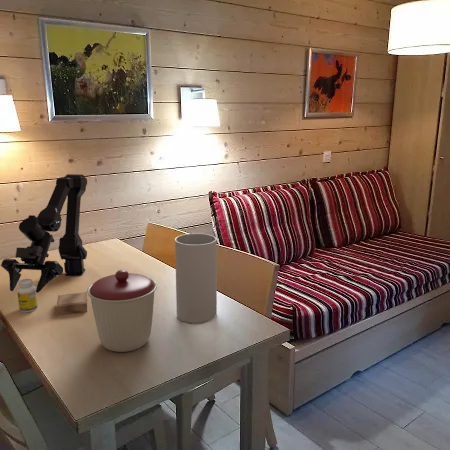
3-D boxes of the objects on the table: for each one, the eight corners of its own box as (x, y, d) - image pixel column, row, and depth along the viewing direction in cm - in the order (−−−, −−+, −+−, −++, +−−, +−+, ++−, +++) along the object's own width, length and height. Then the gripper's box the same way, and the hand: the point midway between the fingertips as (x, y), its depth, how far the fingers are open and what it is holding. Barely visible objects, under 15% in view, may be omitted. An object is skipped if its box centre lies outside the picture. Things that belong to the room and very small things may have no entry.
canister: (79, 341, 118) (73, 270, 113) (135, 320, 130) (132, 255, 125) (113, 368, 105) (108, 289, 100) (172, 342, 118) (170, 270, 113)
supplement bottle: (15, 310, 136) (12, 282, 134) (30, 304, 141) (27, 276, 139) (27, 314, 134) (23, 285, 132) (41, 307, 139) (38, 279, 136)
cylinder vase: (209, 304, 142) (208, 231, 136) (222, 320, 131) (222, 242, 124) (172, 310, 138) (170, 235, 131) (182, 327, 126) (181, 246, 120)
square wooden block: (87, 300, 144) (86, 291, 144) (87, 311, 136) (86, 302, 135) (58, 303, 142) (58, 294, 141) (57, 315, 133) (56, 306, 133)
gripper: (0, 235, 137) (-18, 279, 129) (55, 237, 135) (40, 283, 127) (17, 251, 146) (1, 293, 138) (69, 253, 144) (56, 296, 136)
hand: (24, 291), depth 135 cm, fingers open, 8 cm apart
